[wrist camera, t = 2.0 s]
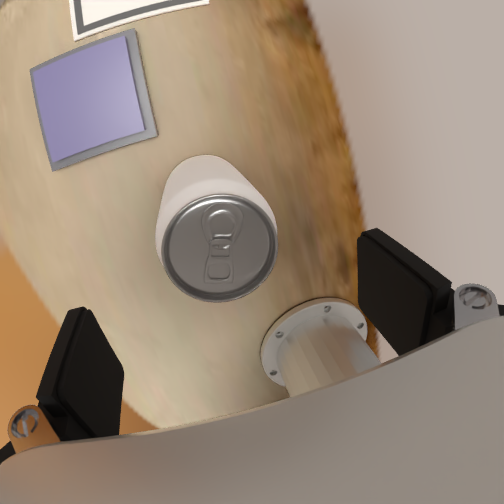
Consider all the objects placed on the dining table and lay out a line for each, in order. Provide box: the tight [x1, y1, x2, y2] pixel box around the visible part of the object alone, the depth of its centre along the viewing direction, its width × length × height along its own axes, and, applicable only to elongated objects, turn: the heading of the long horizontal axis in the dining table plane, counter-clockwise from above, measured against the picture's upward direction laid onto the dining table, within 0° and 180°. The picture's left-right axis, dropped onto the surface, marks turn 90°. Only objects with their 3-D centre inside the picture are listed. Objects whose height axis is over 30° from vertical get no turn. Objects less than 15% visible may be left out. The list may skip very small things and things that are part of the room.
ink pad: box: [30, 28, 158, 172], centre depth 20 cm, size 9×9×2 cm
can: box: [155, 155, 278, 302], centre depth 21 cm, size 6×6×12 cm
